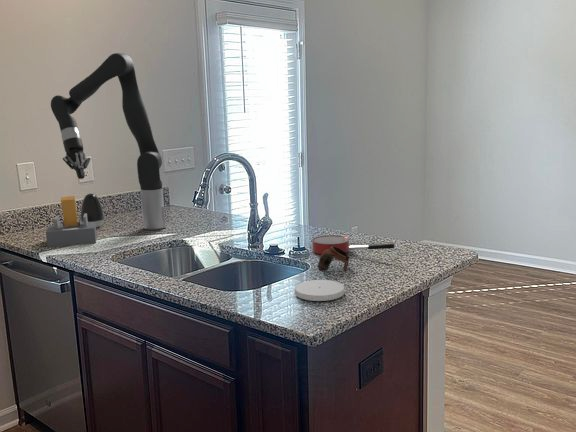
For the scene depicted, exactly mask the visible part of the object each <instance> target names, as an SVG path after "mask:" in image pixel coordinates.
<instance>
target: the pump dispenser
mask: <svg viewBox="0 0 576 432" xmlns="http://www.w3.org/2000/svg"><path fill="white" fill-rule="evenodd" d="M104 212H105V211H104V210H103V206H102V204H101V201H100V199H99V197H98V196H97V194H96V193H88V194H86V195H85V196H84V197H83V200H82V203H81V208H80V222H81V223H84V220H83V216H84V214H86V213H87V220H88V222H96V229H98V228H100V227H101V226H103V224H104V221H105V213H104Z"/></svg>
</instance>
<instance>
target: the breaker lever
mask: <svg viewBox="0 0 576 432" xmlns="http://www.w3.org/2000/svg"><path fill="white" fill-rule="evenodd" d="M60 205H61V211H62V217H63V221H62V224H63V227H64V226H76V225H80V223H81V219H80V220H79V218H78V211H77V205H76V196H61V197H60Z"/></svg>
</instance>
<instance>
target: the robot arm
mask: <svg viewBox="0 0 576 432" xmlns="http://www.w3.org/2000/svg"><path fill="white" fill-rule="evenodd" d="M134 65H135V64H134V61H133V59H132V58H131V57H130V56H129V55H128V54H126V53H120V52H115V53H111V54H110V55H109V56H108V57H107V58H106V59H105V60H104V61H103V62H102V63H101V65H100V66H98V67H96V69H95V70H94V71H93V72H92V73H91V74H89V75H88V76H87V77H85V78H84V79H83V80H81V81H80V82H79V83H77V84H76V85H74V86H73V87H72V88H71V89H69V92H68V95H69V97H65V96H63V95H59V94H57V95H55V96H53V97H52V98H51V100H50V108H51V111H52V113H53V115H54V118H55V119H56V121H57V123H58V126H59V130H60V134H61V140H62V143H63V145H62V146H63V147H64V151H65V156H64V157H63V158H62V160H63V161H64V163H65V164H66V165H67V166H68V167H69V168H70V169H71V170H73V171H74V170H75V173H76V177H77V178H78V180H83V179H84V178H85V177H86V174H85V169H86V168H88V166H89V164H90V162H91V158H90V157H87V156H86V154H85V152H84V144H83V141H82V136H81V134H80V131H79V128H78V123H77V120H76V118H75V117H74V116H73V115H72V114H74V113H75V112H76V111H77V110H78V108H80V106H81V105H82V103H83V102H85V101H86V100H88V99H89V98H91V97H92V96H93V95H94V94H96V93H97V91H98V90H99V89H100V88H101V87H102V86H103V85H104V84H105V83H107V82H108V81H109V80H112V79H113V78H116V77H118V80H119V84H120V87H121V92H122V94H121V95H122V97H121V99H122V100H121V102H122V103H121V104H122V106H121V107H122V111H123V114H124V118H125V121H126V124H127V126H128V128H129V131H130V133H131V134H132V135H133V137H134V139H135V142H136V144H137V146H138V151H139V154H140V155H139V156H138V158H137V162H136V163H137V164H136V167H137V178H138V184H139V187H140V199H141V200H140V201H141V209H142V213H141V214H142V224H143V229H145V230H160V229H161V230H162V229H164V228H166V227H167V225H166V215H165V205H164V193H163V190H164V189H163V182H162V179H161V175H160V174H161V173H160V169H161V168H162V164H163V161H162V159H163V158H162V156H161V154H160V152H159V149H158V146H157V144H156V142H155V141H156V140H154V135H153V131H152V127H151V123H150V120H149V116H148V113H147V108H146V106H145V103H144V99H143V97H142V93H141V90H140V88H139V84H138V80H137V76H136V75H137V74H136V70H135V69H136V68H135V66H134Z"/></svg>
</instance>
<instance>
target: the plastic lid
mask: <svg viewBox="0 0 576 432" xmlns="http://www.w3.org/2000/svg"><path fill="white" fill-rule="evenodd" d="M294 295H295V296H296V297H297V298H299V299H303V300H305V301H311V302H312V301H314V302H323V301H324V302H325V301H326V302H327V301H332V300H337V299H340V298H341V297H342V296H344V295H345V285H344V284H342V283H341V282H338V281H334V280H329V279H314V280H313V279H311V280H306V281H303V282H300V283H298V284H296V285H295V286H294Z"/></svg>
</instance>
